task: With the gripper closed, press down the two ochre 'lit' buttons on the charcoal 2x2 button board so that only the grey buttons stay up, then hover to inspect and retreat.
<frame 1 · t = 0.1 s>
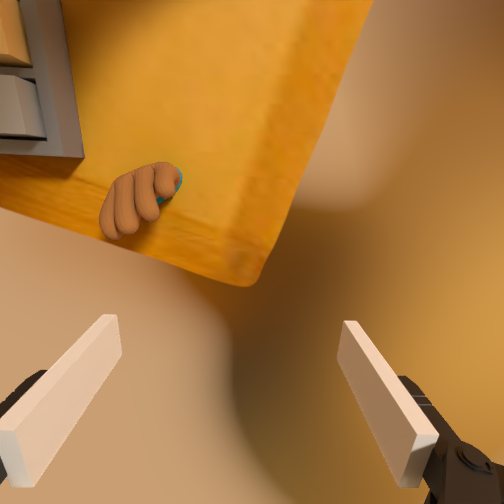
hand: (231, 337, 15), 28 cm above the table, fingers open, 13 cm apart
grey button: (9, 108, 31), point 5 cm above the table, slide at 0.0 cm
button board: (4, 82, 34), on the table
toy: (157, 193, 39), on the table
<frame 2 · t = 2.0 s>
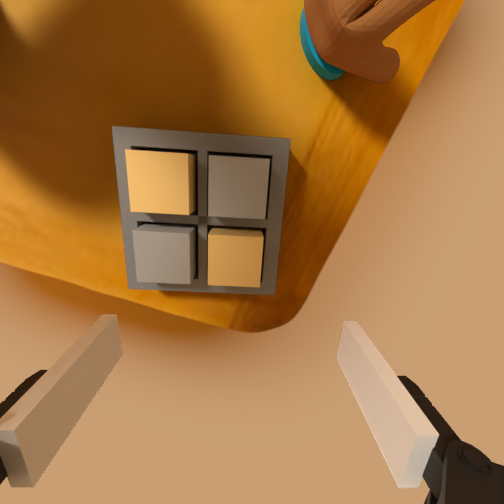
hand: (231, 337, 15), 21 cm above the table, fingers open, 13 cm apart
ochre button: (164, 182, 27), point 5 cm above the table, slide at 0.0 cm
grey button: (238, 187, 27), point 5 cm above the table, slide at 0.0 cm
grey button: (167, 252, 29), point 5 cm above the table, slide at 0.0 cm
button board: (208, 213, 33), on the table
toy: (336, 46, 28), on the table
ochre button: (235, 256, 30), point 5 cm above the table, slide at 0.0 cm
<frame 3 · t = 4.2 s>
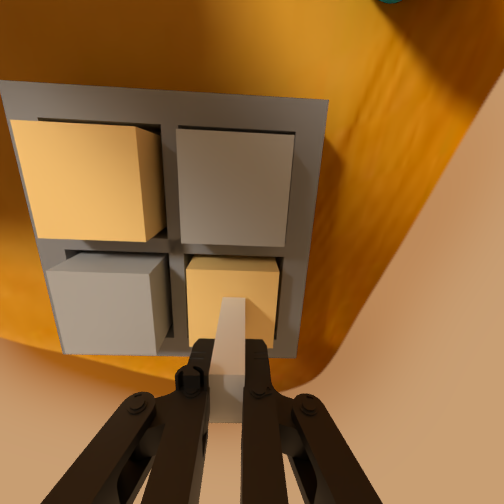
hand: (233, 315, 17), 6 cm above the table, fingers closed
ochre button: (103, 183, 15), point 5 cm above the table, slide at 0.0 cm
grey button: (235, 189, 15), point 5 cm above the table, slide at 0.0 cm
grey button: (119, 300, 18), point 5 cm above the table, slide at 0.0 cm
button board: (189, 230, 21), on the table
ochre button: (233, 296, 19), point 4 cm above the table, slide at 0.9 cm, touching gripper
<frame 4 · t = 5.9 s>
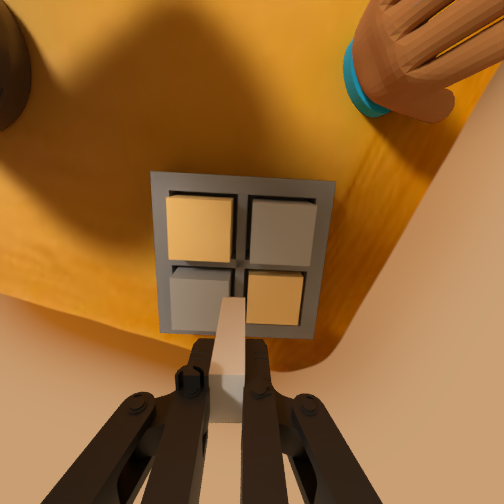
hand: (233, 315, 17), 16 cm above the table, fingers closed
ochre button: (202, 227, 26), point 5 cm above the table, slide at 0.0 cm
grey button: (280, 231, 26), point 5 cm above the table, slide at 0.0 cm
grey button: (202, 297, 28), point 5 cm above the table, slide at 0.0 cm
button board: (241, 252, 32), on the table
toy: (380, 83, 27), on the table
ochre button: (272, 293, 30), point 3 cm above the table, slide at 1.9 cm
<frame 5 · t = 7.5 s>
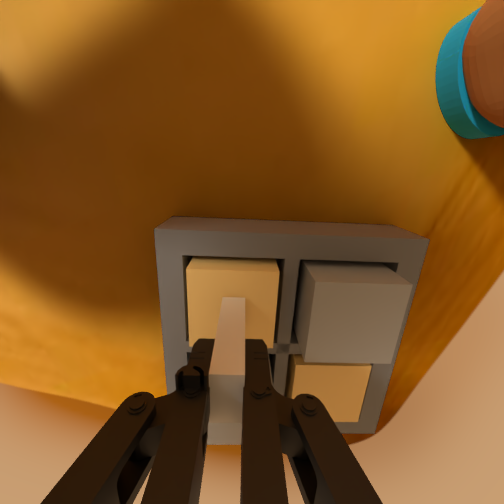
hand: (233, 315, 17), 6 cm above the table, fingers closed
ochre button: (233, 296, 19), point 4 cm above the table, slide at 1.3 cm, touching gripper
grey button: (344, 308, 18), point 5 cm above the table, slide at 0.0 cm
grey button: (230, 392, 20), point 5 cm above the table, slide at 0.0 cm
button board: (276, 316, 24), on the table
toy: (485, 90, 18), on the table
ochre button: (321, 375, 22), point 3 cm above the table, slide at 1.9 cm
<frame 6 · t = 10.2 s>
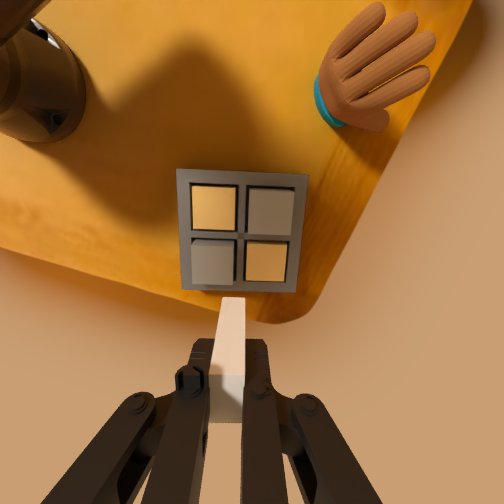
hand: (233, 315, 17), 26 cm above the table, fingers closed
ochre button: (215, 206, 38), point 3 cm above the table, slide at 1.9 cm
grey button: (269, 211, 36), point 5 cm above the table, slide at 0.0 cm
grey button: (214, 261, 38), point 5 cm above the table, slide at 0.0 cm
button board: (241, 229, 42), on the table
toy: (341, 102, 37), on the table
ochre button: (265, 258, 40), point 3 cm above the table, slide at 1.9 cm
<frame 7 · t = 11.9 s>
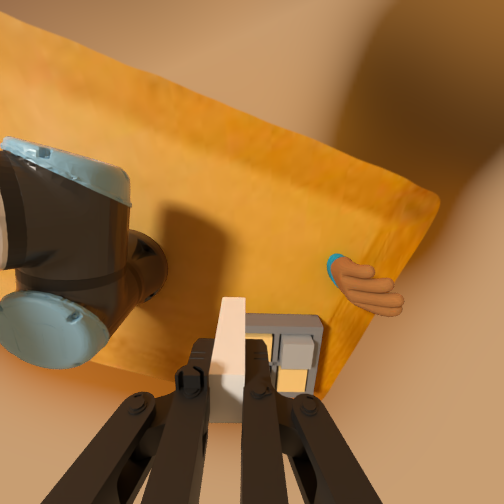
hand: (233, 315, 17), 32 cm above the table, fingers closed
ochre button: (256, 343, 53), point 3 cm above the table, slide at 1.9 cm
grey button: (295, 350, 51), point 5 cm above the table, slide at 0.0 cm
button board: (272, 349, 57), on the table
toy: (346, 271, 52), on the table
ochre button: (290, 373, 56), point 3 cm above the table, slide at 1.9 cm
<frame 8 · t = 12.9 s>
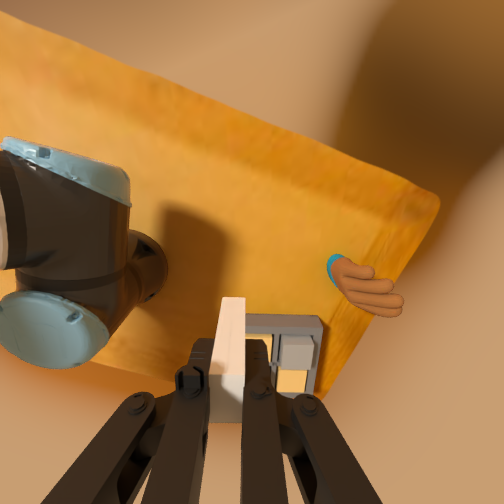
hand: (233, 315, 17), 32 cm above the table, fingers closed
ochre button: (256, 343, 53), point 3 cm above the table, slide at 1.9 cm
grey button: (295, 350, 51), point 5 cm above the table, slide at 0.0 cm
button board: (272, 349, 57), on the table
toy: (346, 272, 52), on the table
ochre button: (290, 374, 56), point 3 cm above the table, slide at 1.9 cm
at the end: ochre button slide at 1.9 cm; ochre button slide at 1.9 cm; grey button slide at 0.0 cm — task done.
